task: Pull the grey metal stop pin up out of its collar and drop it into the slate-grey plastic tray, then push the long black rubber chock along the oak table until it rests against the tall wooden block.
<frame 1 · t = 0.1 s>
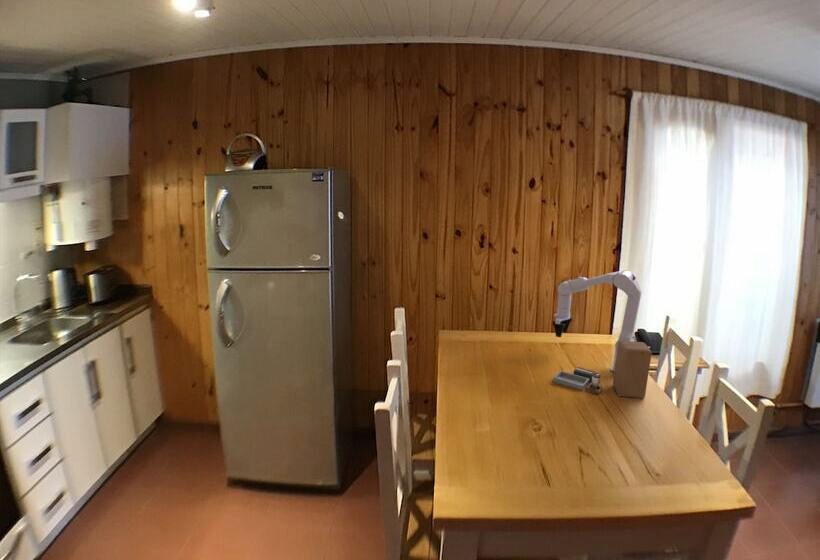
hand: (561, 334, 212), 10 cm above the table, fingers open, 7 cm apart
chock: (585, 379, 190), on the table
pin: (595, 382, 179), in the collar
wooden block: (628, 392, 179), on the table
tray: (571, 383, 186), on the table
collar: (594, 390, 180), on the table
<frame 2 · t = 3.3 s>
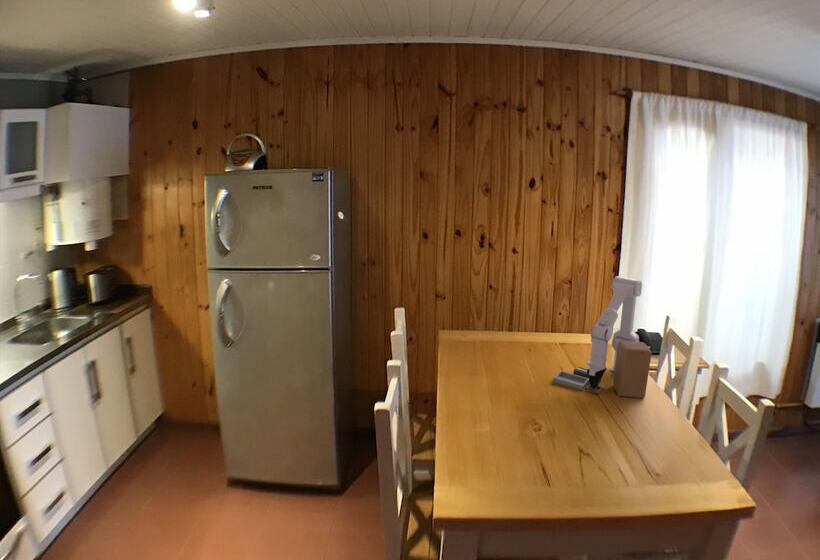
hand: (594, 385, 179), 2 cm above the table, fingers closed on pin, 3 cm apart
pin: (595, 382, 179), in the collar, touching gripper
everything else where it was.
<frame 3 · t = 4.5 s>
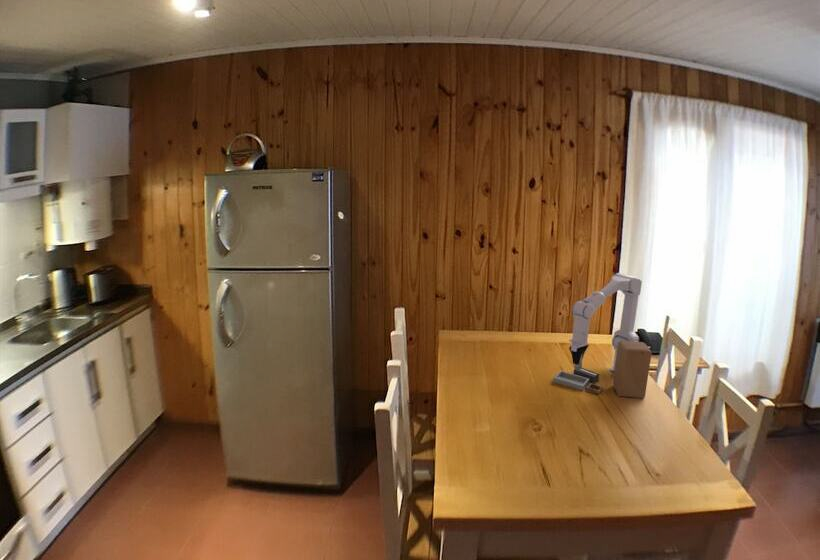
hand: (577, 362, 183), 9 cm above the table, fingers closed on pin, 3 cm apart
pin: (578, 359, 182), point 11 cm above the table, touching gripper
everything else where it was.
when the fingers open (4 cm above the table, at t = 6.0 s): pin moves 1 cm, resting on tray.
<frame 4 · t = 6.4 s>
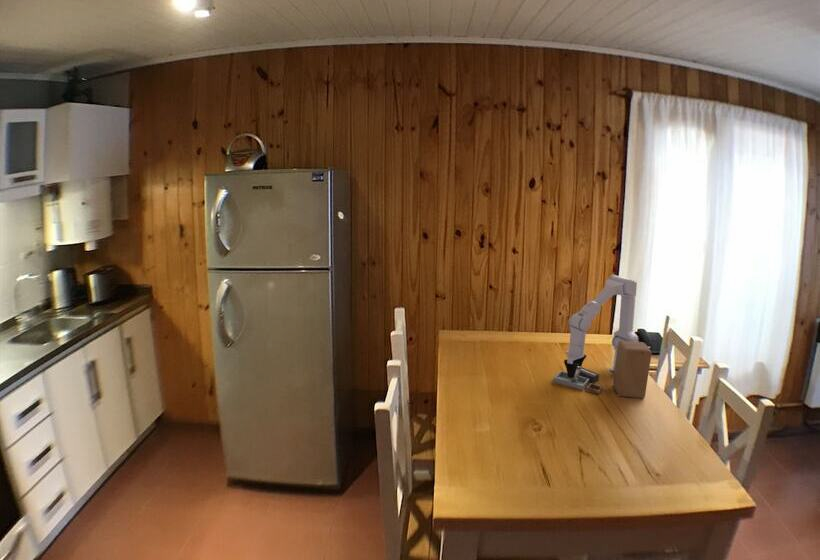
hand: (573, 374, 185), 4 cm above the table, fingers open, 7 cm apart
pin: (575, 373, 185), in the tray, tilted 5°
everything else where it was.
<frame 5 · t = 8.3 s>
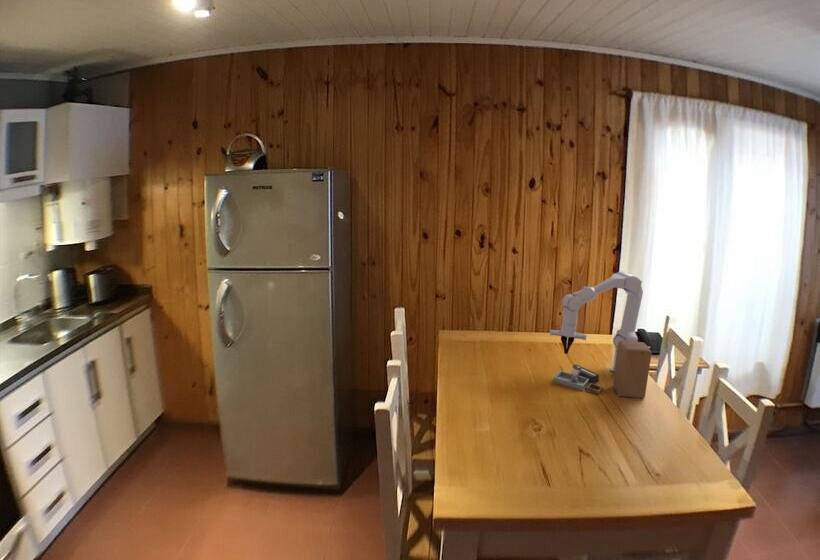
hand: (566, 352, 192), 9 cm above the table, fingers closed
nothing on the table moved.
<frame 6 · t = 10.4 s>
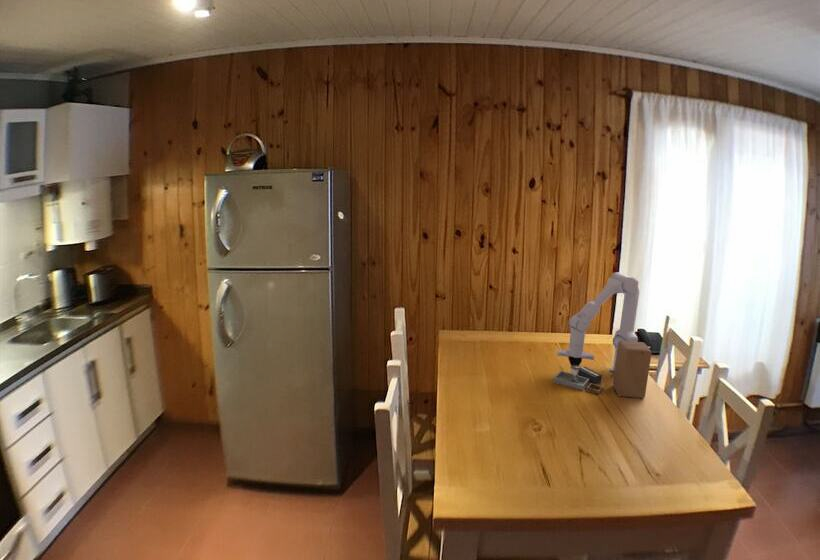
hand: (573, 373, 193), 1 cm above the table, fingers closed
chock: (588, 379, 189), on the table, touching gripper
everything else where it was.
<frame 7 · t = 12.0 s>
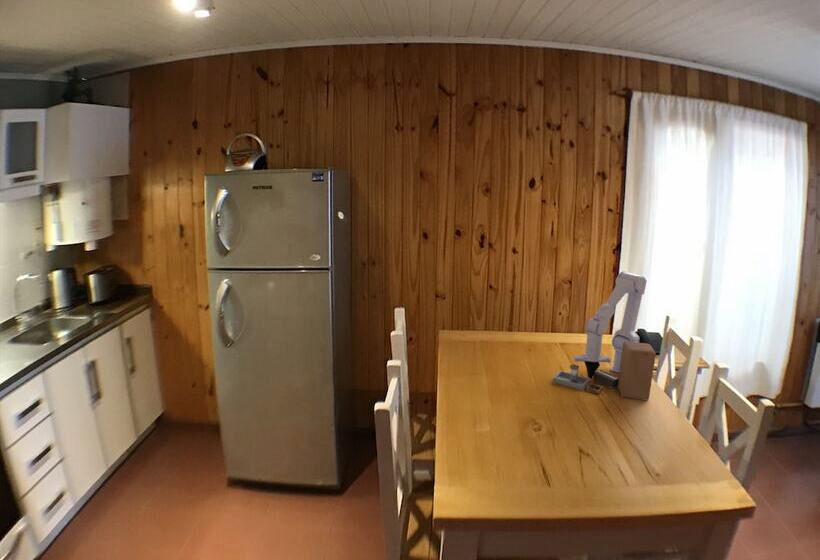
hand: (589, 377, 189), 1 cm above the table, fingers closed
chock: (605, 382, 186), on the table, touching gripper, wooden block
wooden block: (632, 394, 178), on the table, touching chock
everything else where it was.
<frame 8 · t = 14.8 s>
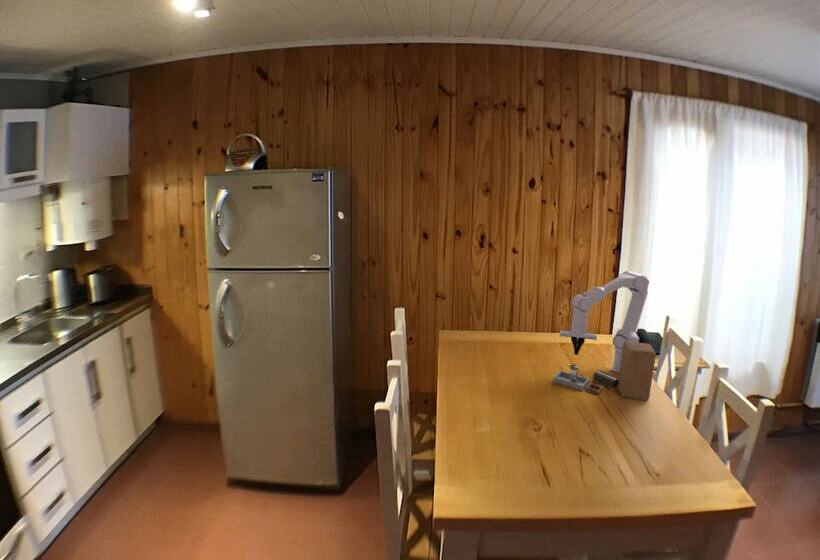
hand: (576, 353, 190), 10 cm above the table, fingers closed
chock: (605, 383, 186), on the table
wooden block: (632, 394, 178), on the table
everything else where it was.
at the end: chock 0.8 cm from the target spot, on the table; pin inside the target area on the tray (1.2 cm from its centre), point 4.1 cm above the tray's base; chock moved 8.0 cm from its start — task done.
